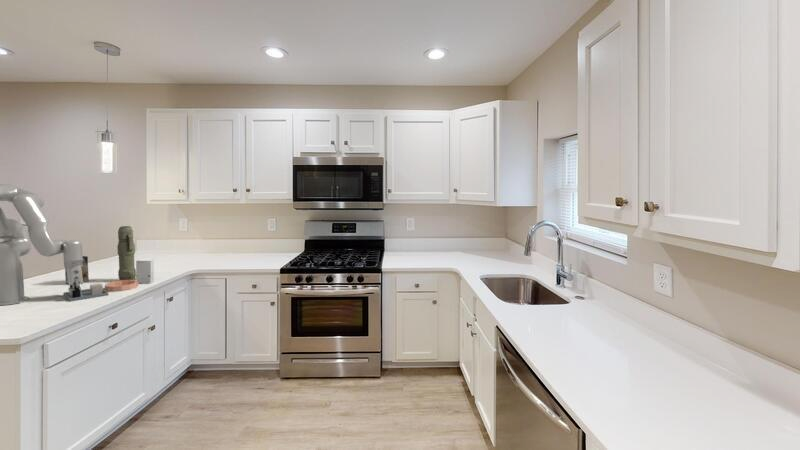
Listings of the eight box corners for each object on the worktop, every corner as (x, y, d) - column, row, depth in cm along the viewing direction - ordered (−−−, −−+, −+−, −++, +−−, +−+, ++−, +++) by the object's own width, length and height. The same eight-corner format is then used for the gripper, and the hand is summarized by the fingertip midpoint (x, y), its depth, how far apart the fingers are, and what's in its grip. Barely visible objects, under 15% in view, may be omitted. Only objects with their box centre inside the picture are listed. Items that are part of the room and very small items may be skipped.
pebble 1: (70, 298, 191) (70, 289, 191) (68, 297, 194) (68, 287, 193) (81, 297, 195) (81, 287, 194) (79, 295, 197) (79, 286, 197)
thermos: (126, 283, 226) (124, 227, 223) (114, 280, 230) (111, 226, 227) (140, 280, 234) (139, 226, 231) (128, 278, 238) (126, 225, 235)
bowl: (109, 293, 203) (109, 287, 203) (102, 288, 212) (102, 283, 212) (141, 288, 215) (140, 283, 215) (132, 284, 224) (132, 278, 224)
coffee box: (73, 284, 219) (72, 258, 217) (65, 284, 220) (63, 257, 218) (89, 281, 227) (88, 256, 226) (81, 280, 229) (79, 255, 227)
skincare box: (135, 284, 225) (134, 260, 223) (139, 281, 231) (138, 258, 229) (151, 283, 227) (150, 260, 226) (154, 281, 233) (154, 258, 232)
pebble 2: (92, 295, 198) (92, 286, 198) (90, 293, 201) (89, 284, 201) (102, 293, 202) (102, 284, 201) (100, 292, 204) (100, 283, 204)
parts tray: (69, 302, 187) (69, 298, 186) (63, 296, 197) (63, 292, 196) (108, 296, 199) (108, 292, 199) (100, 290, 209) (100, 287, 209)
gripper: (86, 264, 190) (88, 297, 192) (79, 260, 201) (80, 291, 203) (67, 266, 184) (69, 301, 186) (60, 261, 195) (62, 294, 197)
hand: (75, 295), depth 194 cm, fingers open, 6 cm apart
